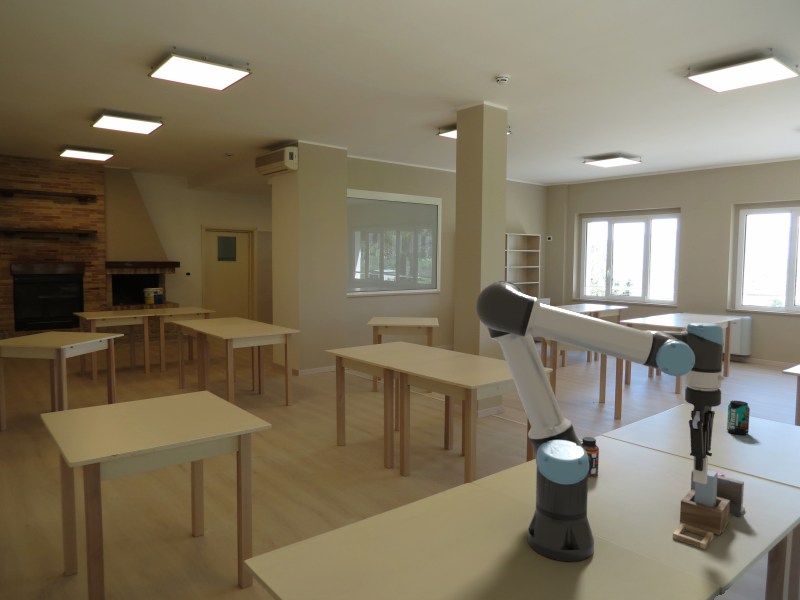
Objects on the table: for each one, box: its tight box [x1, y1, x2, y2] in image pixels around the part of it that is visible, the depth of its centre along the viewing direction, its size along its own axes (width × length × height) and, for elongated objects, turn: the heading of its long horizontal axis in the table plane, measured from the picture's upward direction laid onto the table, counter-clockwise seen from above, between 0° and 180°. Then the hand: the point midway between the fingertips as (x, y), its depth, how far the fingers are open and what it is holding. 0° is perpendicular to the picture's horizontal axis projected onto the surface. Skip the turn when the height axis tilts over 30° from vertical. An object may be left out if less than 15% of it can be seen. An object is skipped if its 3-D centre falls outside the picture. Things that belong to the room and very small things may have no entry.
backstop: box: [690, 469, 746, 518], centre depth 143 cm, size 5×12×9 cm, turn 46°
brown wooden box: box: [679, 489, 730, 536], centre depth 134 cm, size 9×9×6 cm
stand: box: [672, 523, 714, 550], centre depth 127 cm, size 7×7×1 cm
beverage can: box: [726, 400, 751, 436], centre depth 203 cm, size 7×7×12 cm
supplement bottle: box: [581, 436, 600, 477], centre depth 164 cm, size 6×6×11 cm
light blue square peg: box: [694, 469, 719, 508], centre depth 133 cm, size 4×4×12 cm
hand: (700, 481), depth 128 cm, fingers closed
